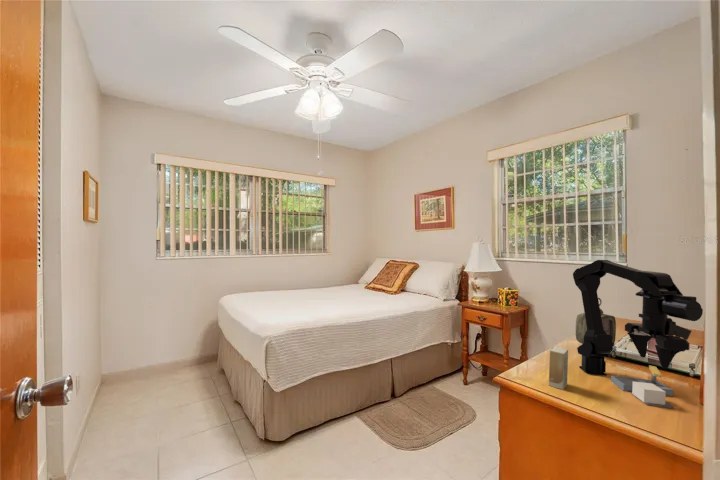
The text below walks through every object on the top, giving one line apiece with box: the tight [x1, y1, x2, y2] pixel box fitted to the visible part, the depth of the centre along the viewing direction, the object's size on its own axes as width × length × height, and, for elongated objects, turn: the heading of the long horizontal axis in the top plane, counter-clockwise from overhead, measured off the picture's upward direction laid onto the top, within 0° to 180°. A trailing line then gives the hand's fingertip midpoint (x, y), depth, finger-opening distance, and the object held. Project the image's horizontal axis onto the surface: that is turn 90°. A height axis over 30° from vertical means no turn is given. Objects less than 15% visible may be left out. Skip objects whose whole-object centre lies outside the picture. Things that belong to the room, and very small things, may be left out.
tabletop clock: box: [575, 297, 617, 345], centre depth 138 cm, size 14×9×25 cm, turn 114°
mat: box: [631, 393, 675, 409], centre depth 96 cm, size 7×7×1 cm
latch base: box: [610, 375, 674, 397], centre depth 105 cm, size 14×7×2 cm, turn 78°
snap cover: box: [631, 381, 667, 405], centre depth 96 cm, size 6×6×4 cm
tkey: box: [648, 364, 662, 384], centre depth 103 cm, size 8×2×5 cm, turn 144°
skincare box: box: [548, 346, 569, 390], centre depth 105 cm, size 6×4×12 cm
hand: (653, 362), depth 96 cm, fingers open, 9 cm apart
